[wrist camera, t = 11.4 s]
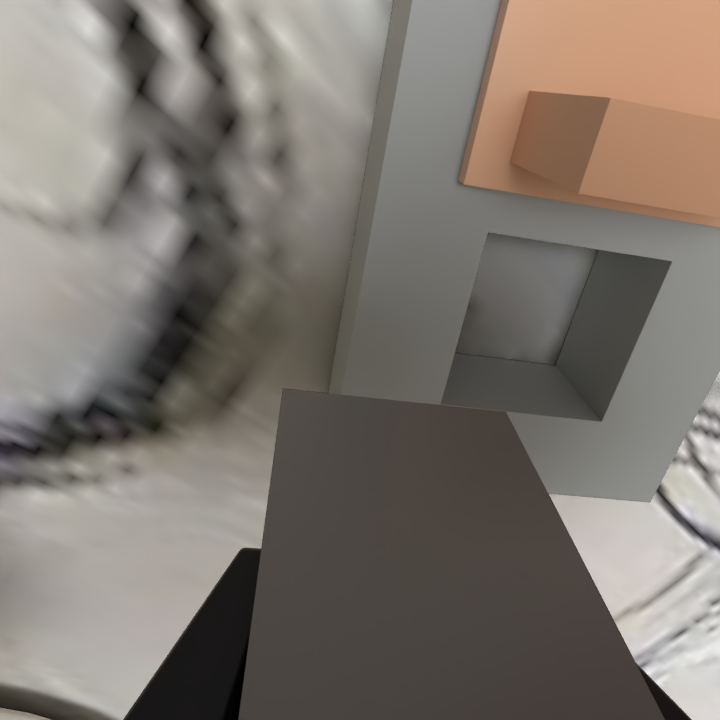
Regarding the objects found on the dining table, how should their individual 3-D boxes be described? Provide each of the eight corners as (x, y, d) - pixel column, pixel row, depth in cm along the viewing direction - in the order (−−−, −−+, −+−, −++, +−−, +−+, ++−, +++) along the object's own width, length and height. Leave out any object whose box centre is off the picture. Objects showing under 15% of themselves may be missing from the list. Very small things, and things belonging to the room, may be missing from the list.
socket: (600, 438, 24) (649, 502, 20) (325, 409, 22) (327, 474, 19) (792, 7, 17) (920, -10, 13) (407, -84, 15) (435, -132, 11)
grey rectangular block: (454, 567, 12) (617, 1212, 5) (265, 554, 11) (178, 1250, 5) (506, 411, 10) (865, 1107, 3) (282, 388, 9) (181, 1152, 3)
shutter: (731, 226, 15) (881, 281, 11) (458, 180, 14) (515, 223, 10) (853, -30, 13) (1107, -78, 9) (528, -112, 12) (643, -211, 8)
